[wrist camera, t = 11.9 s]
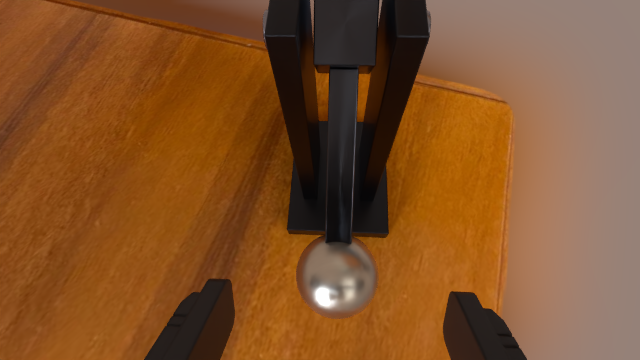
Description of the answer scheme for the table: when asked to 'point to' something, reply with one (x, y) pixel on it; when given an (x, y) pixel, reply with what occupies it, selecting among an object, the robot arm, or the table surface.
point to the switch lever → (341, 162)
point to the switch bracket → (371, 135)
